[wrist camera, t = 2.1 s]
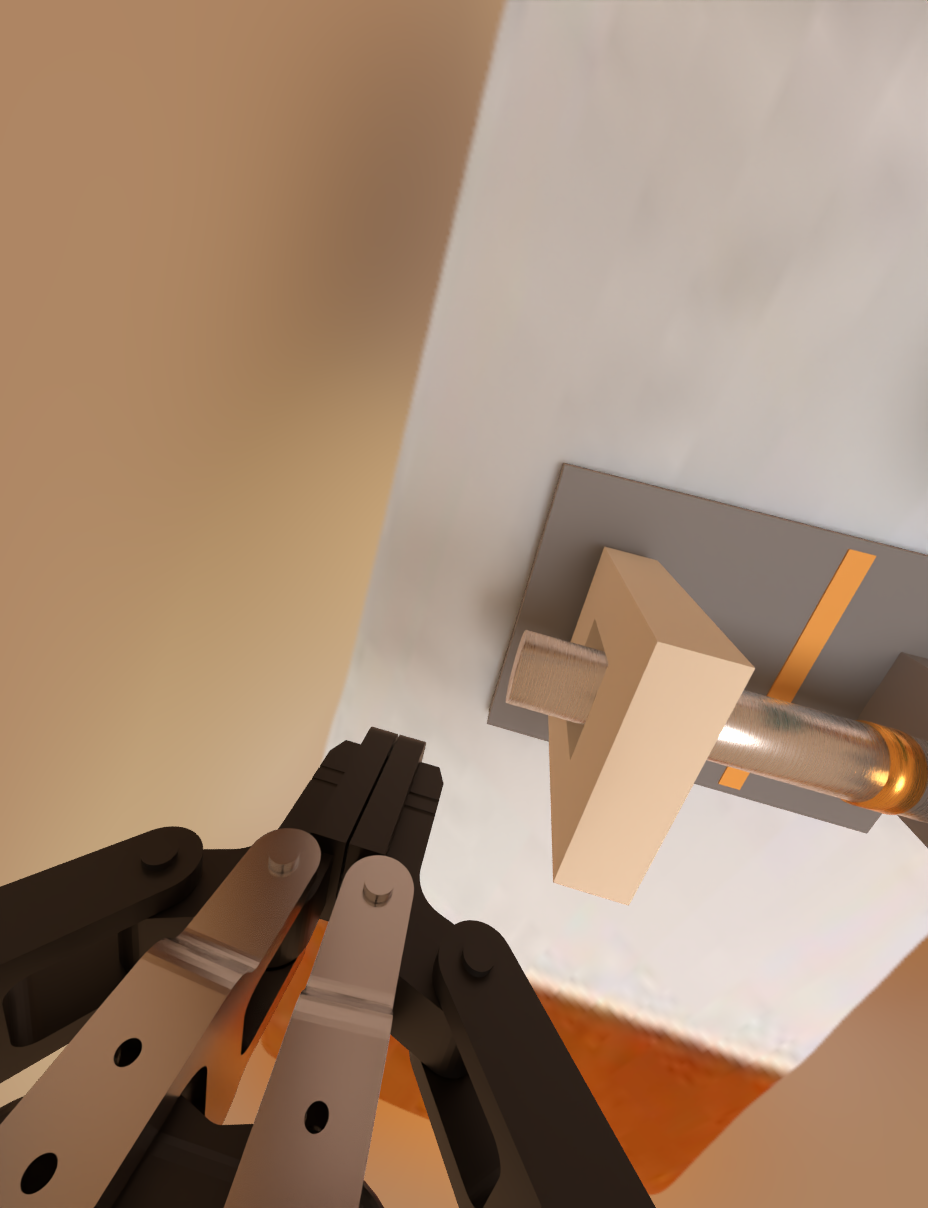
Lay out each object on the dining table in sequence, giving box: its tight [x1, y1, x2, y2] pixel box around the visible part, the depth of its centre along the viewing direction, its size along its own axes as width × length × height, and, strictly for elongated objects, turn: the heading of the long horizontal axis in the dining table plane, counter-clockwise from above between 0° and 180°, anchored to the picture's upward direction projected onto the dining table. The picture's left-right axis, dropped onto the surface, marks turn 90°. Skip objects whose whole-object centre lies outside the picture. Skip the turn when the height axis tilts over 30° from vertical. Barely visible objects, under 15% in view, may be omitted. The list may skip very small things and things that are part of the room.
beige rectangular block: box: [548, 547, 755, 905], centre depth 18 cm, size 9×2×11 cm, turn 166°
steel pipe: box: [506, 630, 928, 823], centre depth 18 cm, size 3×19×3 cm, turn 76°
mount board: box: [487, 463, 928, 848], centre depth 20 cm, size 15×22×12 cm
